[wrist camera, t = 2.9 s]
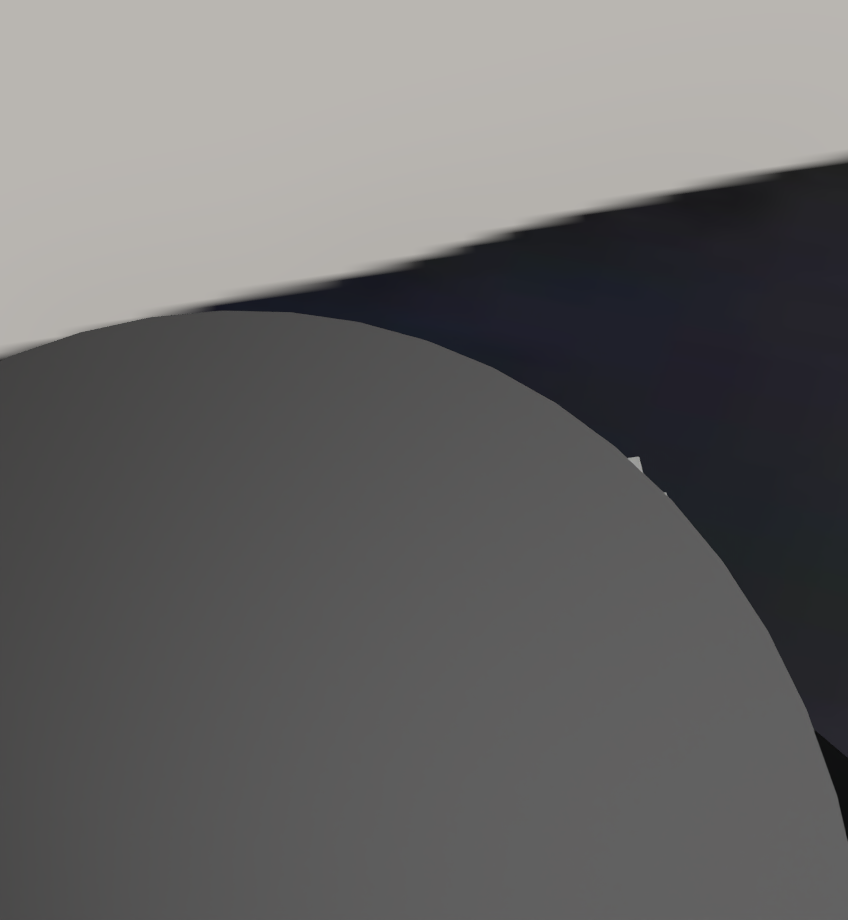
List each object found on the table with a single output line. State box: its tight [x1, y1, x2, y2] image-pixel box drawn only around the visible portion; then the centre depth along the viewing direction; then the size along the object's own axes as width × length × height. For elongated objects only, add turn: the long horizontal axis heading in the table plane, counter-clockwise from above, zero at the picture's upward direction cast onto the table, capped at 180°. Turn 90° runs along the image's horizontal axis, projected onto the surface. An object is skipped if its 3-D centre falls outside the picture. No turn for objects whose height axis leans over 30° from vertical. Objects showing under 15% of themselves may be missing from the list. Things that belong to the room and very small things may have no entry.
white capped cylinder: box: [0, 311, 848, 920], centre depth 9 cm, size 5×5×14 cm
